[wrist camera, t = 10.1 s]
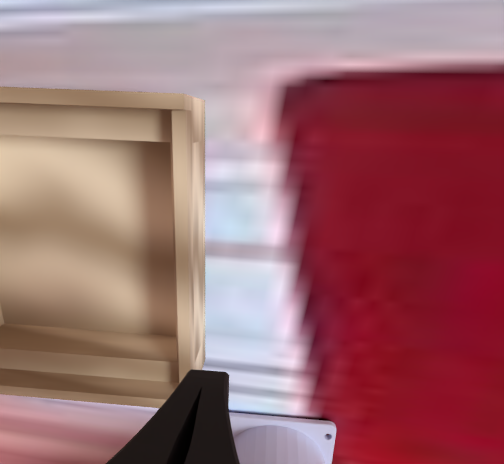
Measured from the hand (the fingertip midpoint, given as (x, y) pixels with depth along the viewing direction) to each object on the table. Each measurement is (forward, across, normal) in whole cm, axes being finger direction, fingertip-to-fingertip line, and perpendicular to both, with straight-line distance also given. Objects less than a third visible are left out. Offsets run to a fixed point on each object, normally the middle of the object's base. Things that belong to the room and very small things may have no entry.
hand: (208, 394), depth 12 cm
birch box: (+9, +9, -2) cm, 13 cm away
